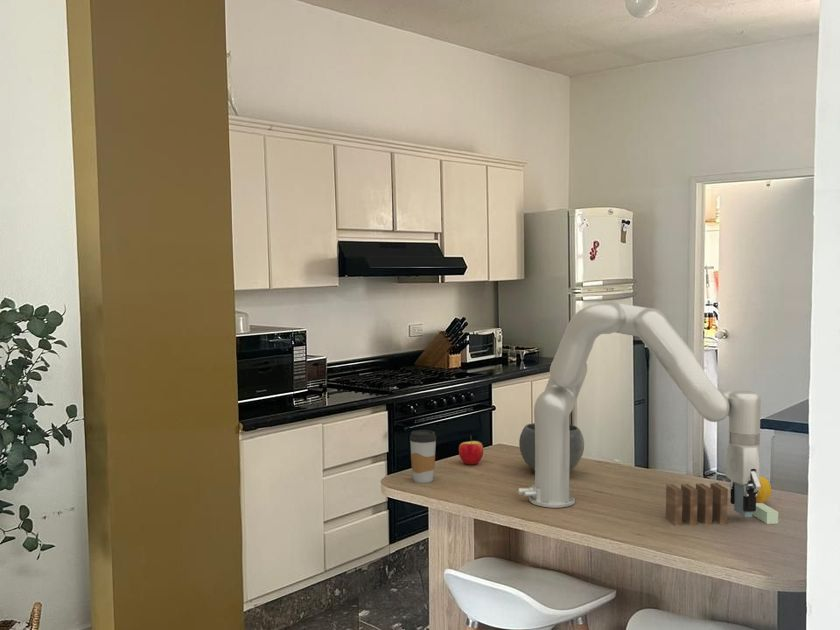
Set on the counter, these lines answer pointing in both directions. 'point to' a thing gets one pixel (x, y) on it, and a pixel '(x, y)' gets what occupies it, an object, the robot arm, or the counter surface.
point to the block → (766, 514)
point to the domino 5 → (740, 500)
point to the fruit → (763, 490)
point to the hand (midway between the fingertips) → (742, 506)
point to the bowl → (529, 445)
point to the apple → (471, 452)
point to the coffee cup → (423, 455)
